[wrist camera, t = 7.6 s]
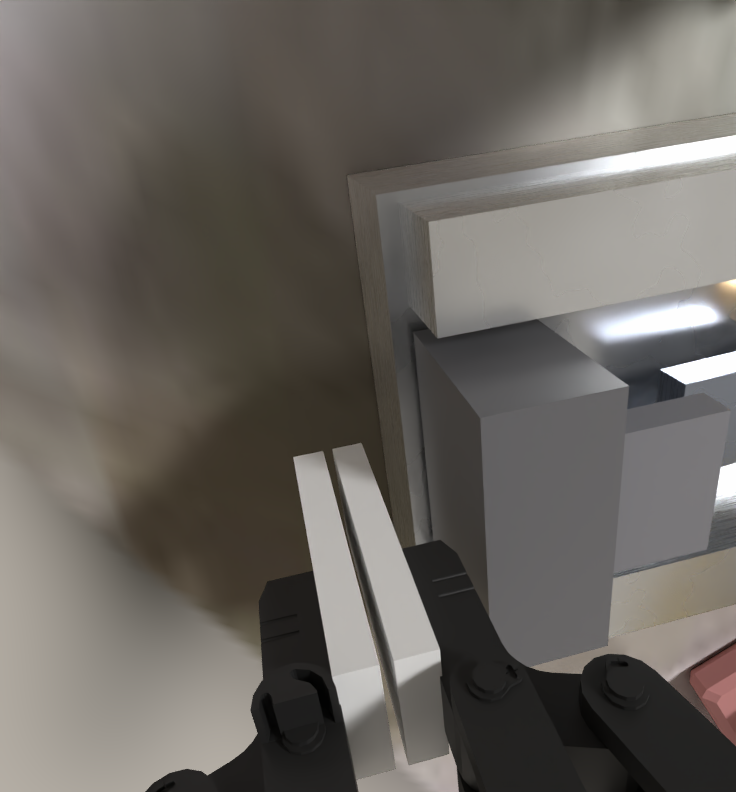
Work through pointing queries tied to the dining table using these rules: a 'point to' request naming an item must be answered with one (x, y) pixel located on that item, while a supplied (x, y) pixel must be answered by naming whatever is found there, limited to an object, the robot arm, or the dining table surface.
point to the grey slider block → (557, 479)
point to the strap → (705, 389)
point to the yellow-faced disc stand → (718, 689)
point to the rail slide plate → (561, 295)
